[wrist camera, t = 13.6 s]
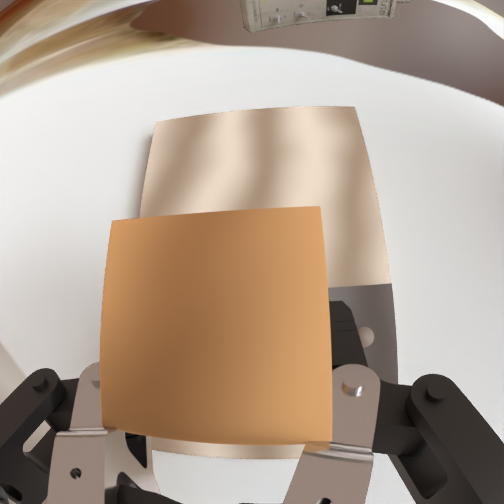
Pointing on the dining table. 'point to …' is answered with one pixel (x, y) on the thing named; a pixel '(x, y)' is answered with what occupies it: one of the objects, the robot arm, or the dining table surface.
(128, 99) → the dining table surface
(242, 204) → the subfloor panel
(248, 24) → the geiger counter
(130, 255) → the walnut block
